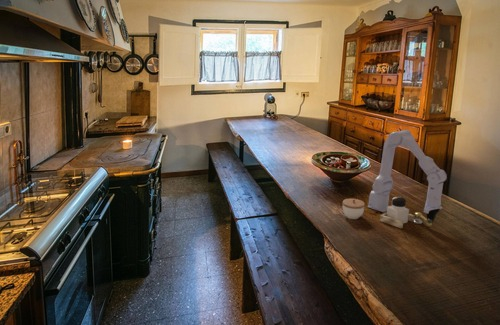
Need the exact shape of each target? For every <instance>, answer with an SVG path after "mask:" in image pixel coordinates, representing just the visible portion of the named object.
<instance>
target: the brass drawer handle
mask: <svg viewBox="0 0 500 325" xmlns="http://www.w3.org/2000/svg"><path fill="white" fill-rule="evenodd" d="M414 218H419V219H420V220H421V221H422V223H424V224H425V225H427V226H429V227H431V226H433V223H432V219H427V217H425V216H424V215H423V213H422V212H419V211H416V212H414Z"/></svg>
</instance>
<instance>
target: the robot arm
mask: <svg viewBox="0 0 500 325" xmlns="http://www.w3.org/2000/svg"><path fill="white" fill-rule="evenodd" d="M398 146H400V147H403V148H408V150H409V151H410V152H411V153H412V154H413V156H414V157H416V159H417V160H418V165H419V167H420V168H421V170H423V172H424V173H425V175H426V180H427V182H428V187H427V193H426V201H425V204H424V208H423V213H425V214H426V219H432V224H434V222H435V218H436V217H437V215H438V213H439V212H440V211H441V210H442V209H443V206H441V203H442V200H441V199H442V195H443V188H444V187H443V186H444V182H445V181H447V178H448V177H447V176H448V174H447V173H446V171H445V170H444V169H440V167H439V166H438V165H437V164H436V162H434V159H433V158H432V157H430V156H427V155H426V154H425V153H424V151H423V150H422V148H421V147H420V145H419V144H418V142H417V141H416V140H415V136H414V135H413V134H412V132H411V131H410V130H408V129H404V130H399V131H392V132H391V133H389V134H388V135H387V138H386V139H385V141H384V143H383V149H382V154H381V156H382V157H381V163H380V168H379V174H378V176H377V177H376V178H375V179H374V183H373V184H372V190H371V191H370V193H369V196H368V205H367V208H369V209H373V210H374V211H378V212H382V213H386V212H387V207H388V206H389V203H390V202H389V200H390V193H391V191H392V190H393V189H394V183H393V180H394V179H393V177H392V169H393V163H394V157H395V153H396V152H395V151H396V148H397V147H398Z"/></svg>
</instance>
